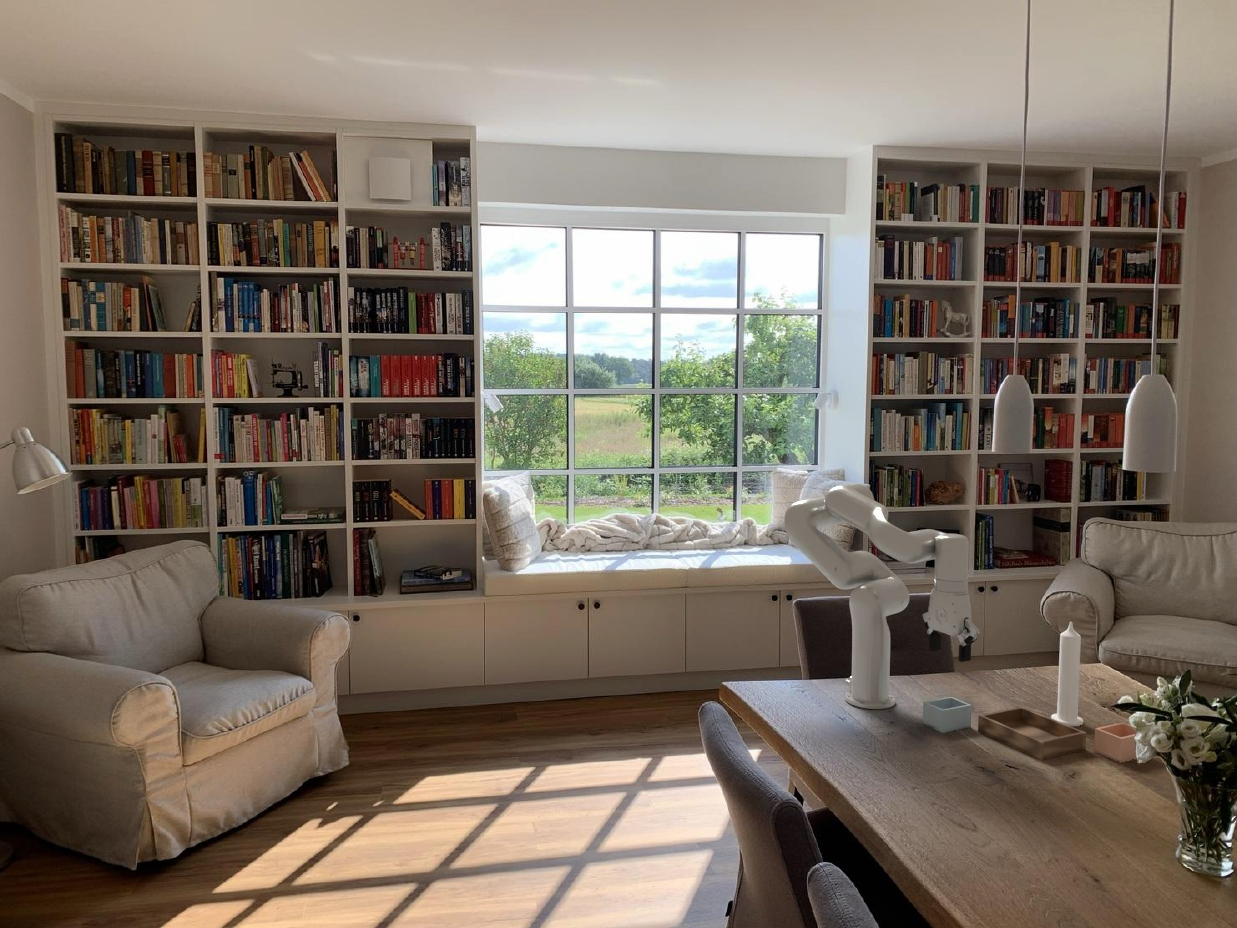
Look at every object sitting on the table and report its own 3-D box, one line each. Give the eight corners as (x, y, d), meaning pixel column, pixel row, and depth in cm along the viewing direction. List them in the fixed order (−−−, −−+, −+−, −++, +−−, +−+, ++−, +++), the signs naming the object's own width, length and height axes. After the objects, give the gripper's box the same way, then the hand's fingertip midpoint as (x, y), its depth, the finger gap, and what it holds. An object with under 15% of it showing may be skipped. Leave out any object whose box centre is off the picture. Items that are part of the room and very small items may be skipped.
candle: (1076, 728, 215) (1080, 627, 213) (1046, 720, 220) (1050, 621, 218) (1087, 721, 219) (1092, 621, 217) (1058, 713, 225) (1062, 616, 223)
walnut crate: (977, 731, 213) (978, 715, 213) (1020, 722, 219) (1021, 706, 219) (1040, 760, 197) (1041, 742, 197) (1085, 749, 203) (1086, 732, 202)
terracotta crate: (1093, 752, 201) (1094, 728, 201) (1121, 745, 205) (1122, 722, 204) (1120, 763, 195) (1121, 738, 195) (1148, 756, 199) (1149, 732, 198)
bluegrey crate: (922, 723, 218) (923, 701, 218) (950, 718, 222) (951, 696, 222) (942, 733, 212) (942, 710, 212) (970, 727, 216) (971, 705, 216)
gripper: (913, 580, 221) (912, 648, 222) (966, 594, 205) (964, 667, 206) (936, 577, 224) (935, 644, 225) (990, 591, 208) (989, 663, 209)
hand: (949, 655), depth 216 cm, fingers open, 9 cm apart
